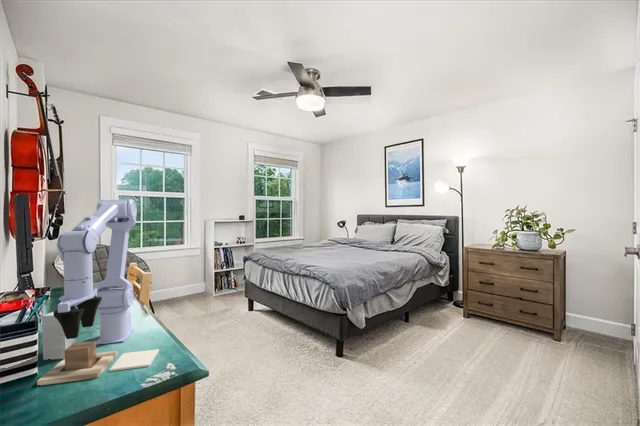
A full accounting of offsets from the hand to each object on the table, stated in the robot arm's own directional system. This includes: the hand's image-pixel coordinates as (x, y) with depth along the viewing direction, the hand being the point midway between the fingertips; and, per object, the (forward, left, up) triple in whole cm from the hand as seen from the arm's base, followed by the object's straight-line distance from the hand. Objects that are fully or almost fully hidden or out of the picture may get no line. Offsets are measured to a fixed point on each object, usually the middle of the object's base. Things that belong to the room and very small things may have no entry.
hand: (80, 332), depth 77 cm
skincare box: (-10, -10, -10) cm, 17 cm away
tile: (-1, +12, -9) cm, 15 cm away
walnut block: (0, 0, -9) cm, 9 cm away
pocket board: (0, 0, -9) cm, 9 cm away
